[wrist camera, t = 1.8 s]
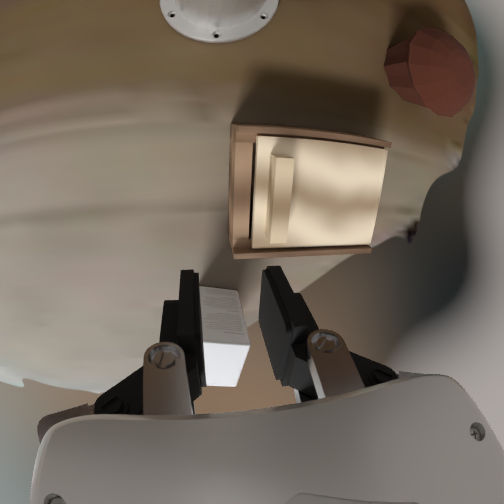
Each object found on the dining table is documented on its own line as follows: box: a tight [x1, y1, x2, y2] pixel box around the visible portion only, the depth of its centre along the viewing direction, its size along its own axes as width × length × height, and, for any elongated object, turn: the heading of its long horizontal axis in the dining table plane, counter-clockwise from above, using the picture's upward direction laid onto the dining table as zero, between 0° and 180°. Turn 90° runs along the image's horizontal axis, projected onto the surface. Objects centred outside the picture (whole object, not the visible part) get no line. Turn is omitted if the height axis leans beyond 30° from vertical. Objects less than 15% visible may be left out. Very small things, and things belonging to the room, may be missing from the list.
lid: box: [251, 135, 388, 249], centre depth 27 cm, size 11×14×3 cm
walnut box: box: [228, 123, 391, 259], centre depth 30 cm, size 13×16×6 cm
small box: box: [199, 286, 250, 386], centre depth 35 cm, size 8×6×10 cm
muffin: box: [384, 27, 475, 117], centre depth 23 cm, size 12×11×10 cm
